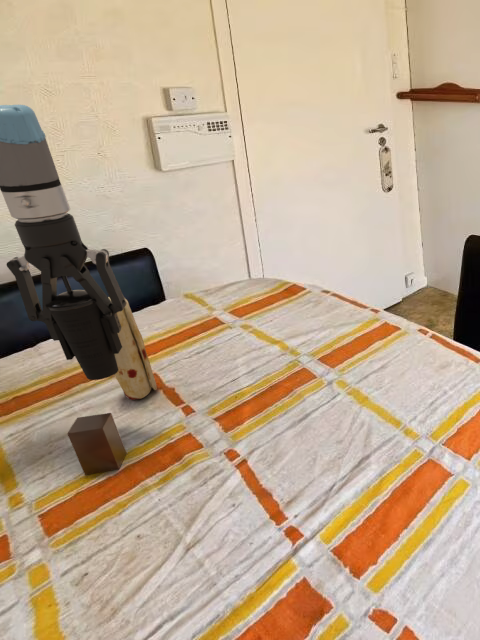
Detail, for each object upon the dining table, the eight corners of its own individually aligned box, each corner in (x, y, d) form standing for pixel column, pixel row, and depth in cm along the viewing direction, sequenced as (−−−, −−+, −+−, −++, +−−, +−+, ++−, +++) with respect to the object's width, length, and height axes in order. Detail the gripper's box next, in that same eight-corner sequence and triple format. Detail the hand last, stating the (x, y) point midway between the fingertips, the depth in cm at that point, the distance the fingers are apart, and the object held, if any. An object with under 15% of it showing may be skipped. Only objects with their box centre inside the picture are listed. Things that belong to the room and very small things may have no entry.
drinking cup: (91, 388, 103) (43, 271, 93) (68, 377, 106) (19, 264, 97) (136, 369, 108) (95, 257, 99) (113, 360, 112) (71, 251, 102)
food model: (125, 386, 127) (91, 293, 118) (161, 379, 130) (130, 288, 120) (119, 408, 119) (82, 310, 110) (158, 400, 122) (125, 304, 112)
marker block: (84, 475, 100) (66, 433, 97) (94, 458, 105) (76, 417, 101) (119, 469, 102) (102, 428, 98) (126, 452, 106) (111, 412, 102)
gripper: (-43, 228, 89) (21, 371, 100) (106, 216, 94) (152, 354, 105) (-20, 216, 96) (39, 352, 107) (119, 205, 100) (161, 337, 111)
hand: (95, 353), depth 106 cm, fingers closed on drinking cup, 6 cm apart
